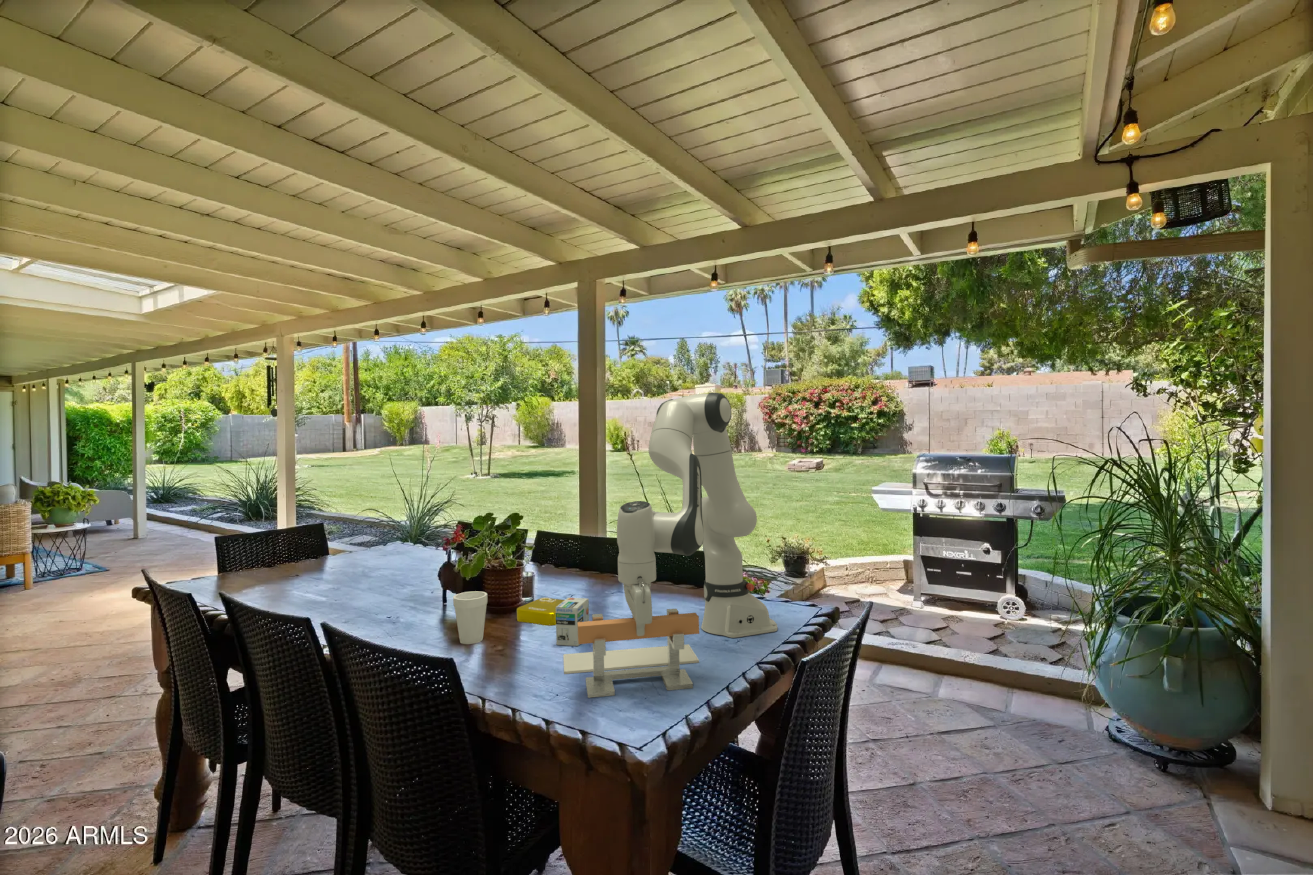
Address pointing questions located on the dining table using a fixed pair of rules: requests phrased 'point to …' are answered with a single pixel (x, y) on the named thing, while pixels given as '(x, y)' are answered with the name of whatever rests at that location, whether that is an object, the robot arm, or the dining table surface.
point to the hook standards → (670, 674)
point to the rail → (627, 628)
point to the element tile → (539, 611)
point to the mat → (626, 659)
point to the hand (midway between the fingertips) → (638, 631)
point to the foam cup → (470, 615)
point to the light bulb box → (570, 620)
